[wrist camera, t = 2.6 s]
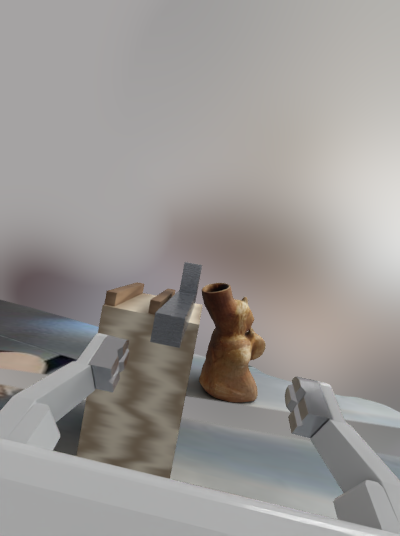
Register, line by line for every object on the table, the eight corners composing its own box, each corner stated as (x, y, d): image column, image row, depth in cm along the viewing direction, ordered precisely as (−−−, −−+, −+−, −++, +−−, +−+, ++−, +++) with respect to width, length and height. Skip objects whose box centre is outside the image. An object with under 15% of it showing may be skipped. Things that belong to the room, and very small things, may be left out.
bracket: (194, 306, 41) (202, 265, 41) (179, 348, 21) (194, 268, 21) (178, 303, 41) (186, 262, 41) (150, 341, 21) (164, 262, 21)
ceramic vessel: (267, 405, 58) (290, 296, 57) (193, 415, 49) (218, 286, 48) (235, 373, 72) (253, 285, 71) (173, 376, 64) (192, 276, 63)
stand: (179, 426, 45) (204, 295, 44) (165, 499, 31) (201, 310, 30) (114, 411, 46) (137, 282, 45) (72, 477, 32) (105, 291, 31)
